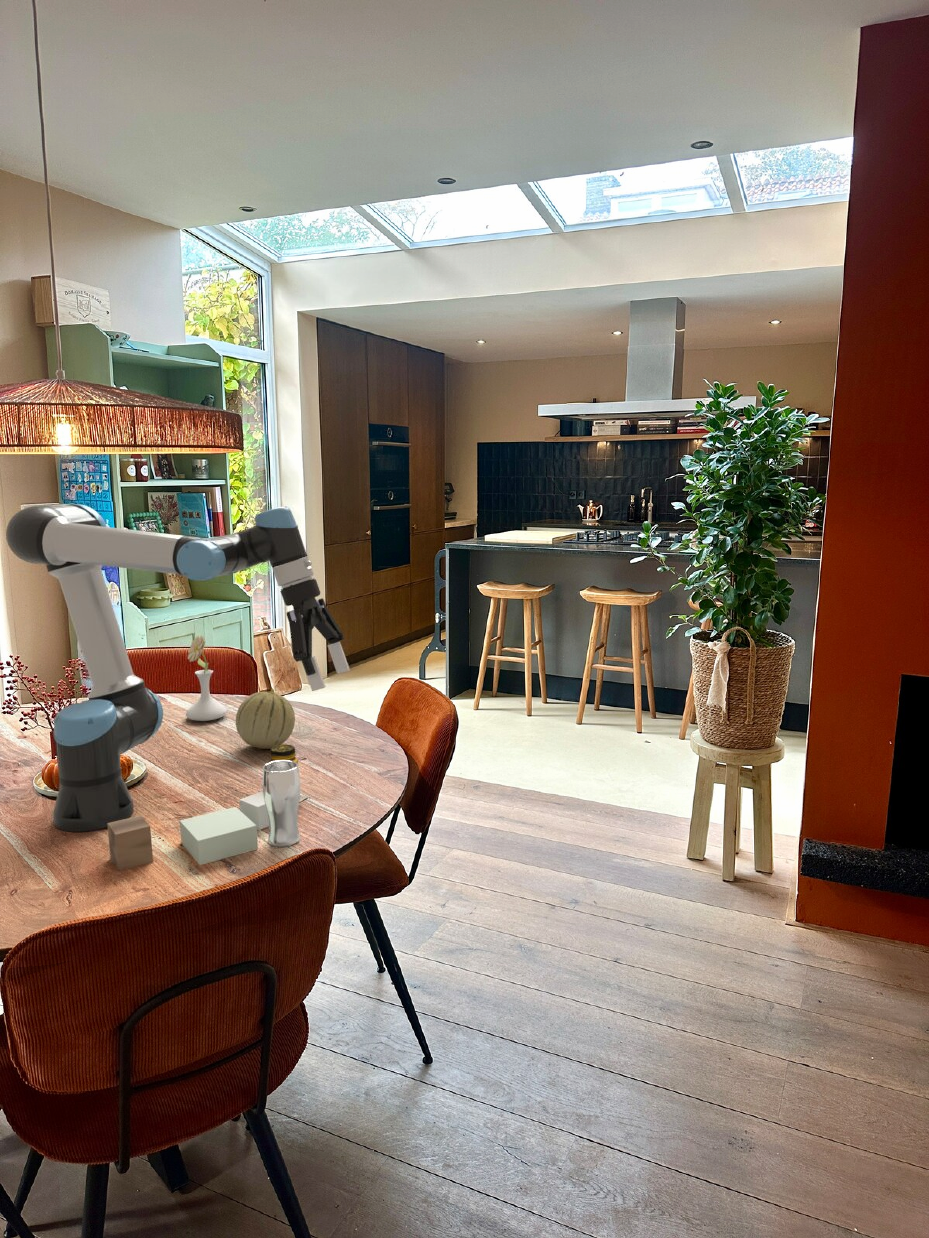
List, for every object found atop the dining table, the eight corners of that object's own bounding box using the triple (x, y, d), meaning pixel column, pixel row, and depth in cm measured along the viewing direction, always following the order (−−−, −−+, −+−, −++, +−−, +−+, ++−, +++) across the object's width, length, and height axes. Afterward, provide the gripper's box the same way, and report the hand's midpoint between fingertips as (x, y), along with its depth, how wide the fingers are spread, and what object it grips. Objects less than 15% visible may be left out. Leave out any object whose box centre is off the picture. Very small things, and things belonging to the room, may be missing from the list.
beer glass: (305, 831, 166) (301, 759, 163) (299, 847, 159) (295, 771, 156) (269, 832, 165) (265, 759, 163) (262, 848, 159) (258, 772, 156)
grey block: (240, 822, 171) (239, 799, 170) (264, 813, 175) (263, 790, 174) (259, 830, 167) (257, 806, 166) (283, 820, 171) (282, 797, 170)
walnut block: (110, 858, 155) (107, 823, 154) (144, 850, 159) (141, 815, 157) (118, 871, 150) (115, 834, 149) (153, 861, 154) (150, 825, 153)
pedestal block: (181, 844, 161) (179, 820, 160) (237, 830, 167) (235, 806, 167) (199, 866, 152) (197, 840, 152) (258, 850, 159) (256, 825, 158)
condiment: (286, 809, 177) (283, 755, 175) (256, 802, 181) (253, 748, 179) (309, 797, 183) (306, 744, 181) (279, 790, 187) (276, 739, 185)
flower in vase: (186, 714, 246) (180, 630, 241) (226, 711, 249) (221, 628, 245) (185, 727, 233) (179, 639, 229) (228, 723, 237) (223, 636, 232)
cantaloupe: (226, 754, 211) (222, 696, 208) (254, 736, 225) (251, 682, 222) (280, 758, 208) (277, 700, 205) (305, 740, 222) (303, 685, 219)
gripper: (287, 586, 158) (324, 692, 160) (336, 569, 182) (368, 661, 184) (252, 597, 160) (290, 701, 162) (305, 579, 184) (337, 669, 186)
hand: (331, 680), depth 173 cm, fingers open, 13 cm apart
